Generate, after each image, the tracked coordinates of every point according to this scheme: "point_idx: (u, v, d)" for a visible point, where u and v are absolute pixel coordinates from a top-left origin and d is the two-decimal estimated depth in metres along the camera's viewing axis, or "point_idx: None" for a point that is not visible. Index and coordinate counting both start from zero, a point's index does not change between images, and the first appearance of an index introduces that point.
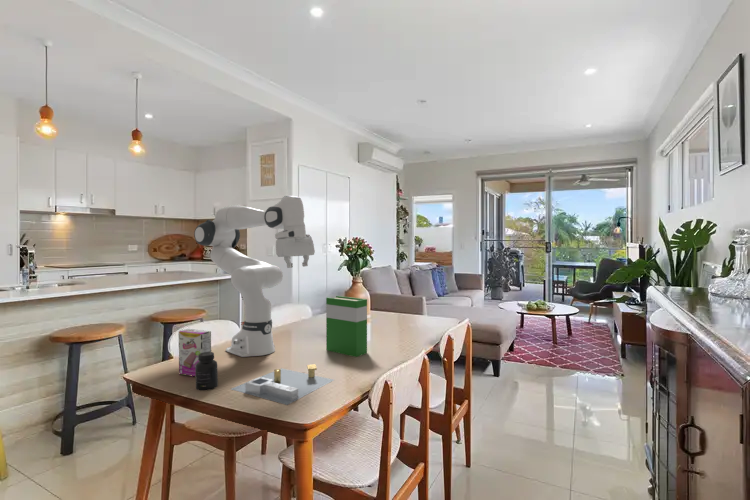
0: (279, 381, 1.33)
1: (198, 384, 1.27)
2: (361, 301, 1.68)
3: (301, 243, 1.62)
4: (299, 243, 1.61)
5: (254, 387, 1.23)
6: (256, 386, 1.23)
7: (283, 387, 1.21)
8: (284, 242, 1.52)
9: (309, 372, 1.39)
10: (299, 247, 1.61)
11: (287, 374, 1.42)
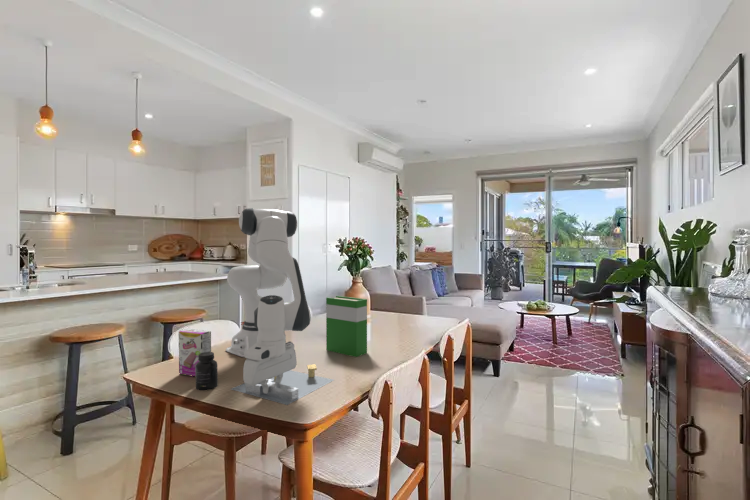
0: None
1: (198, 384, 1.27)
2: (361, 301, 1.68)
3: (279, 359, 1.25)
4: (276, 360, 1.24)
5: (254, 387, 1.23)
6: (256, 386, 1.23)
7: (283, 387, 1.21)
8: (254, 368, 1.15)
9: (309, 372, 1.39)
10: (275, 366, 1.23)
11: (287, 374, 1.42)
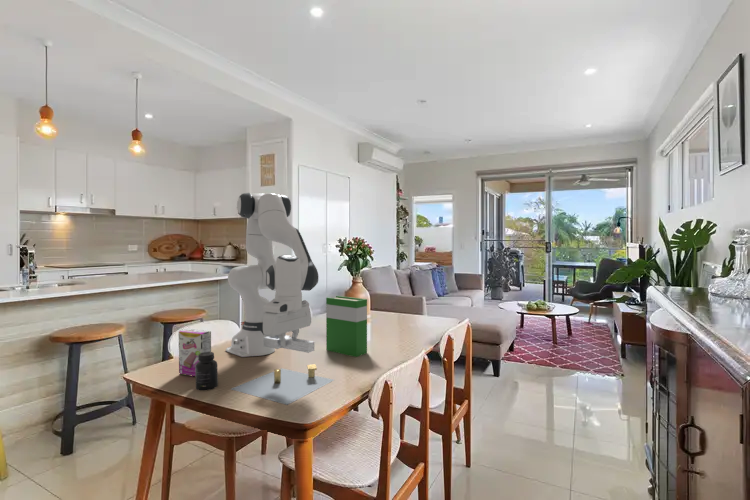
0: (279, 381, 1.33)
1: (198, 384, 1.27)
2: (361, 301, 1.68)
3: (295, 315, 1.31)
4: (293, 315, 1.30)
5: (272, 341, 1.30)
6: (274, 340, 1.30)
7: (300, 340, 1.28)
8: (273, 320, 1.21)
9: (309, 372, 1.39)
10: (292, 321, 1.30)
11: (287, 374, 1.42)
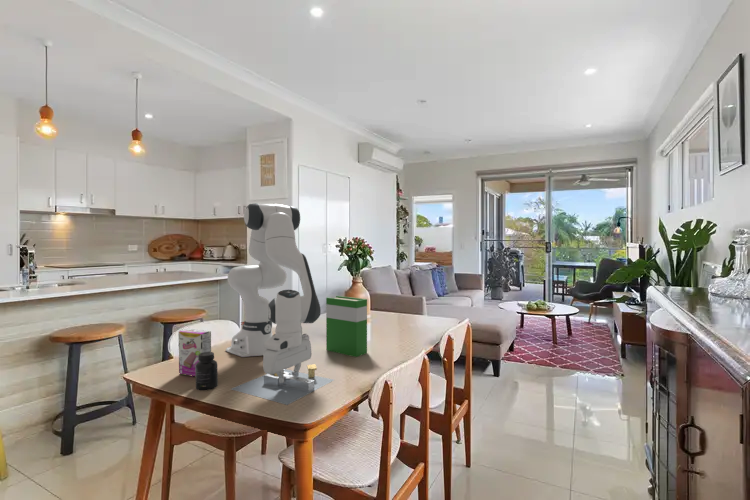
0: None
1: (198, 384, 1.27)
2: (361, 301, 1.68)
3: (295, 350, 1.32)
4: (293, 351, 1.30)
5: (272, 379, 1.30)
6: (274, 378, 1.30)
7: (300, 379, 1.28)
8: (274, 357, 1.22)
9: (309, 372, 1.39)
10: (293, 356, 1.30)
11: None
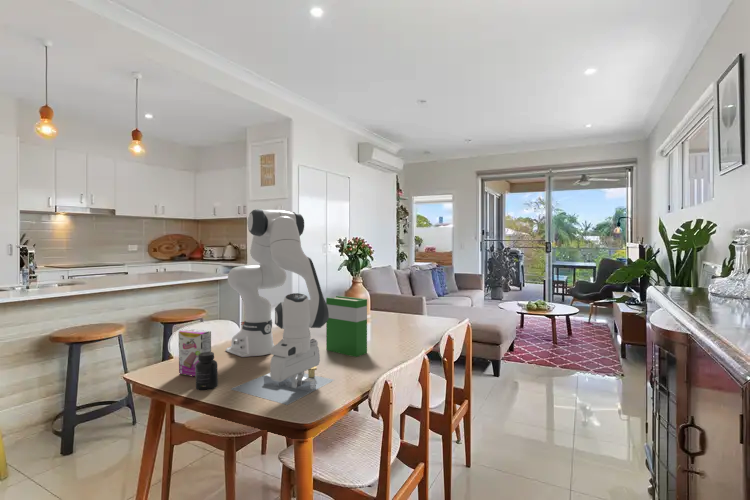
0: None
1: (198, 384, 1.27)
2: (361, 301, 1.68)
3: (304, 356, 1.27)
4: (301, 357, 1.26)
5: None
6: None
7: None
8: (282, 364, 1.17)
9: (309, 372, 1.39)
10: (301, 362, 1.25)
11: None
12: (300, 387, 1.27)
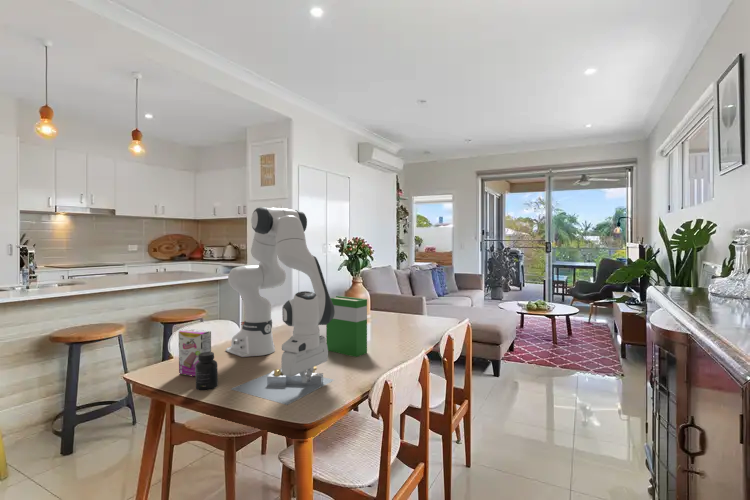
0: None
1: (198, 384, 1.27)
2: (361, 301, 1.68)
3: (313, 352, 1.31)
4: (310, 353, 1.30)
5: (279, 379, 1.31)
6: (281, 377, 1.31)
7: None
8: (292, 360, 1.21)
9: None
10: (310, 358, 1.29)
11: None
12: (309, 382, 1.32)
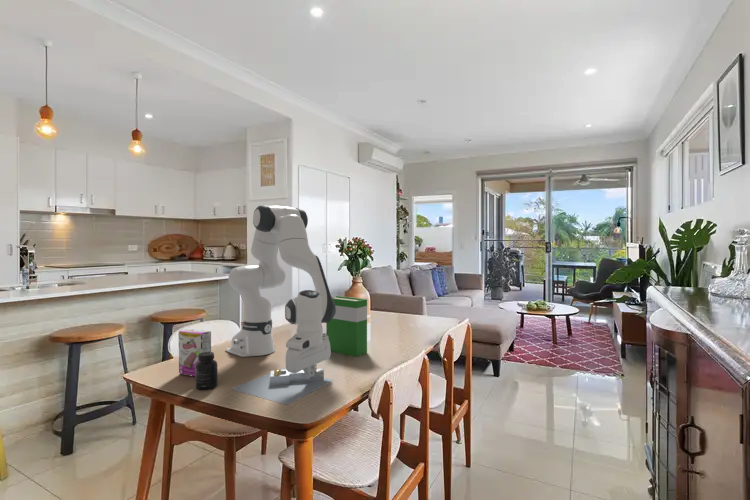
0: None
1: (198, 384, 1.27)
2: (361, 301, 1.68)
3: (316, 349, 1.34)
4: (314, 350, 1.33)
5: (282, 378, 1.32)
6: (285, 376, 1.32)
7: None
8: (296, 356, 1.24)
9: None
10: (313, 355, 1.33)
11: None
12: (312, 378, 1.35)
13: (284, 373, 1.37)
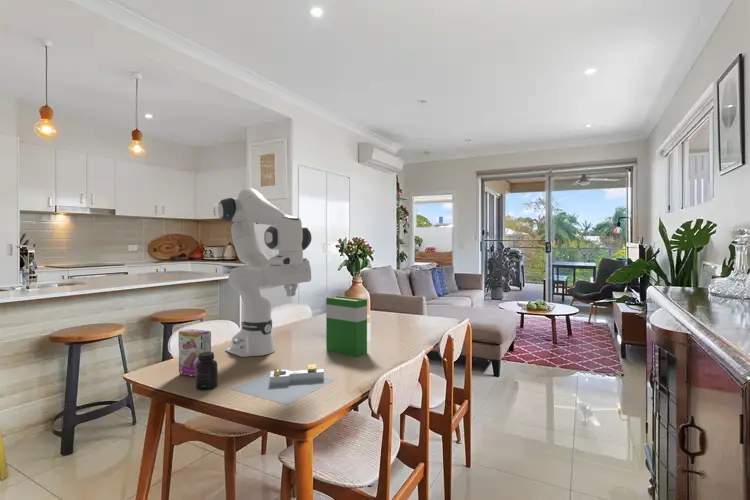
0: None
1: (198, 384, 1.27)
2: (361, 301, 1.68)
3: (297, 269, 1.45)
4: (295, 270, 1.44)
5: (282, 378, 1.31)
6: (285, 376, 1.32)
7: (310, 371, 1.36)
8: (277, 270, 1.36)
9: None
10: (294, 274, 1.44)
11: None
12: (312, 379, 1.35)
13: (284, 373, 1.37)
